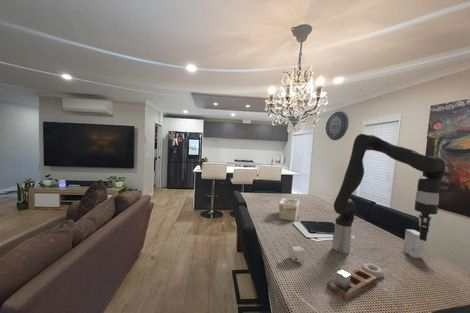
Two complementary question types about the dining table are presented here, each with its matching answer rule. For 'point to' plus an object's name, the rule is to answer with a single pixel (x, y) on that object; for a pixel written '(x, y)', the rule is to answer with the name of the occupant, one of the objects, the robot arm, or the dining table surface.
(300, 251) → the elephant figurine
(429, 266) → the dining table surface
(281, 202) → the storage basket
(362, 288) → the wooden compartment tray
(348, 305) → the dining table surface
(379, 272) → the donut
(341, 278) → the silver metal block
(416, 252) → the skincare box
